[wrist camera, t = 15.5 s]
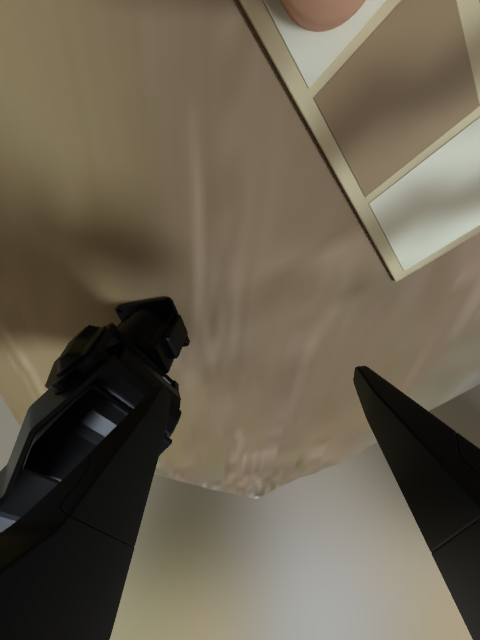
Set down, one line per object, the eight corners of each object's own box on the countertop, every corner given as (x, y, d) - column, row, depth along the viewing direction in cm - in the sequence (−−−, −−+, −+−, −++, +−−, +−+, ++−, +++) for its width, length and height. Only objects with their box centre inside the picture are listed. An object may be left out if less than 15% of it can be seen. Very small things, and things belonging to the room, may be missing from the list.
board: (514, 208, 17) (519, 209, 16) (394, 280, 20) (396, 282, 20) (389, -417, 7) (396, -445, 7) (204, -61, 11) (202, -68, 10)
